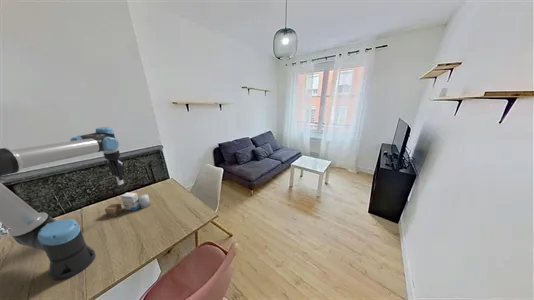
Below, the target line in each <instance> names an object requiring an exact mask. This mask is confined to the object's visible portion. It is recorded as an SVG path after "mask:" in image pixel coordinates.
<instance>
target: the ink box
mask: <svg viewBox="0 0 534 300" xmlns="http://www.w3.org/2000/svg"><path fill="white" fill-rule="evenodd" d="M120 198H121V201H122V204H123V207H124V209H125V210H126V211H137V210H139V208H141V206H140V202H139V196H138V193H137V192H125V193H124V194H122V195H121V196H120Z"/></svg>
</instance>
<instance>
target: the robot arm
mask: <svg viewBox="0 0 534 300" xmlns="http://www.w3.org/2000/svg"><path fill="white" fill-rule="evenodd" d="M119 146H120V144H119V140H117V139H116V136H115V133H114V130H113V128H112V127H111V126H102V127H101V126H99V127H97V128H95V132H93V133H91V132H90V133H87V134H83V135H77V136H73V137H72V138H70V140H69V141H64V142H57V143H49V144H43V145H35V146H29V147H23V148H15V149H9V148H6V147H3V148H1V147H0V177H3V176H8V175H12V174H13V175H14V174H17V173H19V172H20V171H21V170H22V169H27V168H31V167H35V166H40V165H44V164H50V163H53V162H58V161H63V160H68V159H69V160H70V159H73V158H77V157H81V156H86V155H90V154H91V155H92V154H94V153H100V152H102V153H103V157H104V159H105V160H104V161H105V164H106V165H107V167H108V169H109V172H110V173H111V175H114V177H115V179H116V183H117V185H118V186H121V185H124V184H125V182H124V178H123V175H124V176H125V168H124V164H125V163H124V161H121V159H120V157H121V153H120V150H119ZM0 223H1V224H2V225H4V226H5V227H7V228H9V229H10V230H9V231H8V235H9V236H11V237H12V238H13V240H14V241H15V242H16V243H18V244H19V245H22V246H26V247H27V246H28V247H30V248H33V249H37V250H41V251H44V252H45V254H46V256H47V258H48V260H49V268H48V275H49V278H50V279H52V280H53V281H61V280H65V279H68V278H71V277H73V276H75V275H78V274H79V273H81V272H82V271H84V270H85V269H87V268H88V267H90V265H91V264H92V263H93V261H95V259H96V257H97V256H96V252H95V250H94V248H92V247H91V246H90V245H88V244H87V243H86V240H85V238H84V235H83V232H82V230H81V226H80V224H79V223H78V222H77V221H76V219H73V218H64V219H59V220H56V219H54V218H53V217H52V216H51V215H50V214H48V213H47V212H45V211H43V212H38V211H37V210H36V209H34V208H33V207H32V206H30V205H29V204H28V203H27V202H25V201H24V200H23V199H22V198H20V197H19V196H18V195H16V194H15V193H14V192H13V191H12V190H10V189H9V188H8V187H7V186H5V185H4V184H3V183H2V182H0Z"/></svg>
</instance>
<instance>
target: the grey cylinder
mask: <svg viewBox="0 0 534 300" xmlns="http://www.w3.org/2000/svg"><path fill="white" fill-rule="evenodd" d="M149 196H150V195H149V194H147V193H144V194H141V195H139V196H138V199H139V203H140V208H141V209H146V208H148V207H150V206H151V202H150V197H149Z"/></svg>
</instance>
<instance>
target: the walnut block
mask: <svg viewBox="0 0 534 300" xmlns="http://www.w3.org/2000/svg"><path fill="white" fill-rule="evenodd" d="M104 211H105V214H106V217H114V218H116V217H117V216H118V215H119V214H120V213H122V212H123V207H122V203H111V204H109V206H107V207H105V208H104Z"/></svg>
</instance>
